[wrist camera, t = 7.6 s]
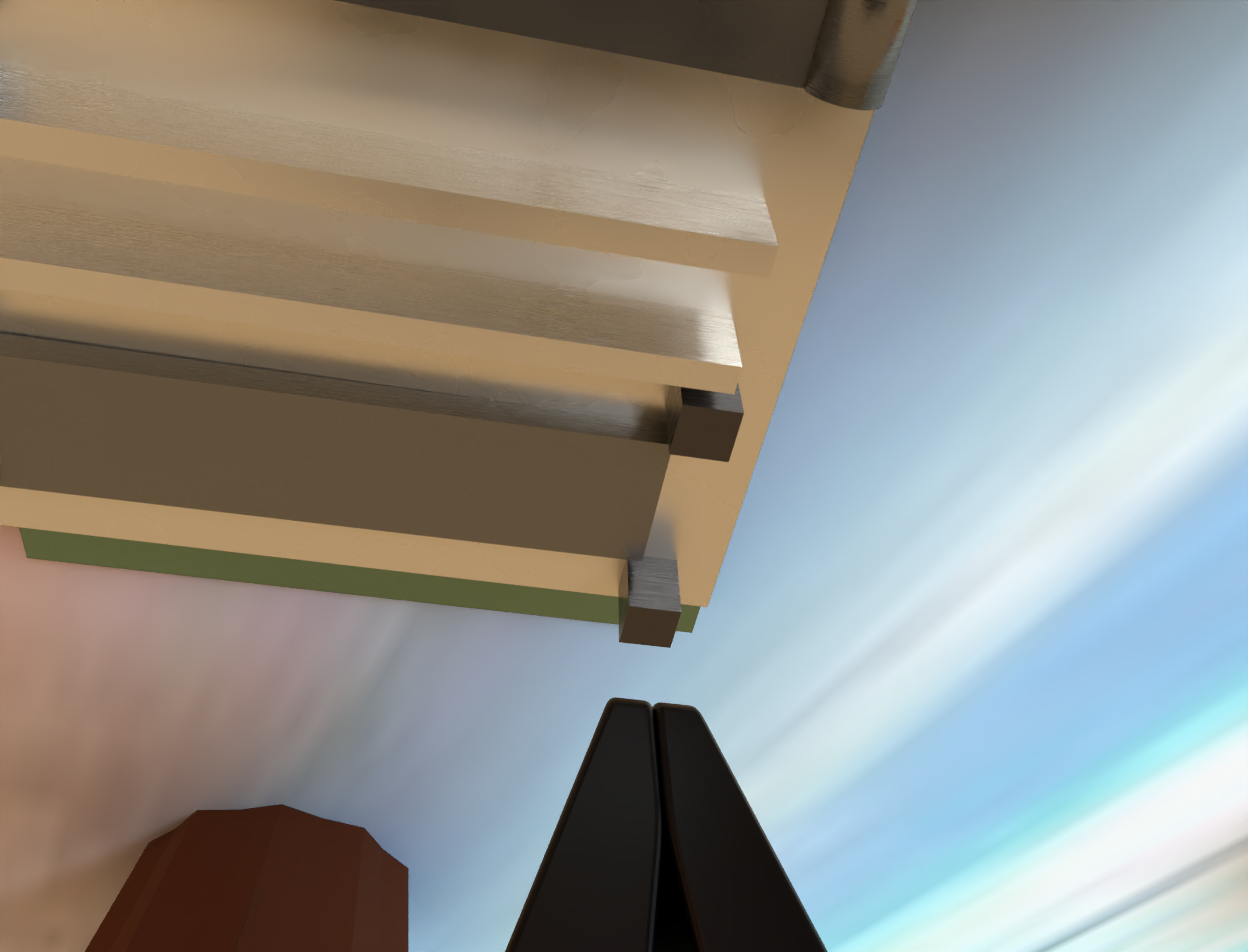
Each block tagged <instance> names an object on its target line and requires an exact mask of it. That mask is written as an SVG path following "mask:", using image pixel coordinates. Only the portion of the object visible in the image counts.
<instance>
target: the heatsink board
mask: <svg viewBox="0 0 1248 952" xmlns="http://www.w3.org/2000/svg"><path fill="white" fill-rule="evenodd" d="M874 111H875V110H855V109H849V108H844V107H840V106H837V105H833V104H830V103H827V102H825V101H822V100H820V99H818V98H816V97H814V96H812V95H810V94H809V93H808V92H806V91H805V90H804V89H803V88H798V87H792V86H787V85H782V84H776V83H771V82H766V81H760V80H755V79H750V78H744V77H739V76H734V75H729V74H723V73H718V72H713V71H707V70H702V69H697V68H691V67H686V66H681V65H675V64H670V63H665V62H659V61H654V60H649V59H644V58H638V57H633V56H628V55H622V54H617V53H612V52H606V51H601V50H596V49H590V48H585V47H580V46H575V45H569V44H564V43H559V42H553V41H548V40H543V39H537V38H532V37H527V36H521V35H516V34H511V33H506V32H500V31H495V30H490V29H484V28H479V27H474V26H468V25H463V24H458V23H452V22H447V21H442V20H436V19H431V18H426V17H421V16H415V15H410V14H405V13H399V12H394V11H389V10H383V9H378V8H373V7H367V6H362V5H357V4H352V3H346V2H341V1H336V0H0V333H1V334H9V335H16V336H23V337H31V338H38V339H45V340H53V341H60V342H67V343H75V344H82V345H89V346H97V347H104V348H111V349H119V350H126V351H133V352H141V353H148V354H155V355H163V356H170V357H177V358H185V359H192V360H199V361H207V362H214V363H221V364H229V365H236V366H243V367H251V368H258V369H266V370H273V371H280V372H288V373H295V374H302V375H310V376H317V377H324V378H332V379H339V380H346V381H354V382H361V383H368V384H376V385H383V386H390V387H398V388H405V389H412V390H420V391H427V392H434V393H442V394H449V395H456V396H464V397H471V398H478V399H486V400H493V401H500V402H508V403H515V404H522V405H530V406H537V407H544V408H552V409H559V410H566V411H573V412H581V413H588V414H595V415H602V416H609V417H617V418H624V419H631V420H638V421H645V422H652V423H660V424H667V435H668V446H669V454H671V455H670V459H669V463H668V467H667V470H666V474H665V478H664V482H663V485H662V489H661V493H660V497H659V500H658V504H657V508H656V511H655V515H654V519H653V523H652V526H651V530H650V534H649V538H648V541H647V545H646V549H645V553H644V556H643V560H642V562H641V561H633V560H624V559H616V558H607V557H599V556H590V555H582V554H573V553H565V552H556V551H547V550H539V549H530V548H522V547H513V546H505V545H496V544H488V543H479V542H471V541H462V540H454V539H445V538H437V537H428V536H420V535H411V534H403V533H394V532H386V531H377V530H369V529H360V528H352V527H343V526H335V525H326V524H318V523H309V522H301V521H292V520H284V519H275V518H267V517H258V516H250V515H241V514H233V513H224V512H216V511H207V510H199V509H190V508H182V507H173V506H165V505H156V504H148V503H139V502H131V501H122V500H114V499H105V498H97V497H88V496H80V495H71V494H63V493H54V492H46V491H37V490H28V489H20V488H11V487H3V486H0V525H5V526H13V527H19V529H20V532H21V536H22V540H23V544H24V548H25V552H26V555H27V558H33V559H42V560H51V561H60V562H68V563H77V564H86V565H95V566H104V567H113V568H122V569H131V570H139V571H148V572H157V573H166V574H175V575H184V576H193V577H202V578H211V579H219V580H228V581H237V582H246V583H255V584H264V585H273V586H282V587H290V588H299V589H308V590H317V591H326V592H335V593H344V594H353V595H362V596H370V597H379V598H388V599H397V600H406V601H415V602H424V603H433V604H441V605H450V606H459V607H468V608H477V609H486V610H495V611H504V612H512V613H521V614H530V615H539V616H548V617H557V618H566V619H575V620H584V621H592V622H601V623H610V624H619V642H623V643H632V644H641V645H650V646H659V647H669V648H670V647H671V644H672V641H673V637H674V634H675V631H681V632H690V633H692V631H693V628H694V625H695V621H696V618H697V615H698V612H699V609H700V606H702V607H708V604H709V601H710V598H711V595H712V592H713V589H714V586H715V583H716V580H717V577H718V574H719V571H720V568H721V565H722V562H723V559H724V556H725V553H726V550H727V547H728V544H729V541H730V538H731V535H732V532H733V529H734V526H735V523H736V520H737V517H738V514H739V511H740V509H741V506H742V503H743V500H744V497H745V494H746V491H747V488H748V485H749V482H750V479H751V476H752V473H753V470H754V467H755V464H756V461H757V458H758V455H759V452H760V449H761V446H762V443H763V440H764V437H765V434H766V431H767V428H768V425H769V422H770V419H771V416H772V414H773V411H774V408H775V405H776V402H777V399H778V396H779V393H780V390H781V387H782V384H783V381H784V378H785V375H786V372H787V369H788V366H789V363H790V360H791V357H792V354H793V351H794V348H795V345H796V342H797V339H798V336H799V333H800V330H801V327H802V324H803V321H804V318H805V316H806V313H807V310H808V307H809V304H810V301H811V298H812V295H813V292H814V289H815V286H816V283H817V280H818V277H819V274H820V271H821V268H822V265H823V262H824V259H825V256H826V253H827V250H828V247H829V244H830V241H831V238H832V235H833V232H834V229H835V226H836V223H837V221H838V218H839V215H840V212H841V209H842V206H843V203H844V200H845V197H846V194H847V191H848V188H849V185H850V182H851V179H852V176H853V173H854V170H855V167H856V164H857V161H858V158H859V155H860V152H861V149H862V146H863V143H864V140H865V137H866V134H867V131H868V128H869V125H870V123H871V120H872V117H873V114H874Z"/></svg>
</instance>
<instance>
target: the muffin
mask: <svg viewBox="0 0 1248 952" xmlns="http://www.w3.org/2000/svg"><path fill="white" fill-rule="evenodd" d="M85 952H408V868H407V867H406V866H404V865H403V864H402V863H400V862H399V861H398V860H396V859H395V858H394V857H392V856H391V855H390V854H388V853H387V852H386V851H385V850H383V849H382V847H381V846H380V845H379V844H378V843H377V842H376V841H375V840H374V838H373V837H372V836H371V835H370V834H369V833H368V832H367V830H366V829H365V828H362V827H358V826H354V825H349V824H345V823H341V822H336V821H332V820H327V819H323V818H320V817H317V816H314V815H311V814H308V813H305V812H303V811H300V810H297V809H294V808H291V807H288V806H285V805H282V804H281V805H273V806H266V807H258V808H250V809H243V810H197V811H196V812H195V813H194V814H192V815H191V816H190V817H189V818H188V819H187V820H185V821H184V822H183V823H182V824H181V825H180V826H178V827H177V828H176V829H174V830H172V831H170V832H169V833H167V834H165V835H163V836H161V837H159V838H157V839H155V840H153V841H151V842H149V843H148V845H147V847H146V849H145V850H144V852H143V854H142V855H141V857H140V859H139V860H138V862H137V864H136V866H135V867H134V869H133V871H132V872H131V874H130V876H129V877H128V879H127V881H126V883H125V884H124V886H123V888H122V889H121V891H120V893H119V894H118V896H117V898H116V900H115V901H114V903H113V905H112V906H111V908H110V910H109V912H108V913H107V915H106V917H105V918H104V920H103V922H102V923H101V925H100V927H99V929H98V930H97V932H96V934H95V935H94V937H93V939H92V940H91V942H90V944H89V946H88V947H87V949H86V951H85Z"/></svg>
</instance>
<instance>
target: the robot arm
mask: <svg viewBox="0 0 1248 952" xmlns="http://www.w3.org/2000/svg"><path fill="white" fill-rule="evenodd" d="M505 952H827V950H826V948H825V946H824V944H823V942H822V940H821V938H820V937H819V935H818V933H817V931H816V929H815V927H814V925H813V923H812V921H811V920H810V918H809V916H808V914H807V912H806V910H805V908H804V906H803V904H802V903H801V901H800V899H799V897H798V895H797V893H796V891H795V889H794V888H793V886H792V884H791V882H790V880H789V878H788V876H787V874H786V872H785V871H784V869H783V867H782V865H781V863H780V861H779V859H778V857H777V856H776V854H775V852H774V850H773V848H772V846H771V844H770V842H769V840H768V839H767V837H766V835H765V833H764V831H763V829H762V827H761V825H760V824H759V822H758V820H757V818H756V816H755V814H754V812H753V810H752V808H751V807H750V805H749V803H748V801H747V799H746V797H745V795H744V793H743V792H742V790H741V788H740V786H739V784H738V782H737V780H736V778H735V776H734V775H733V773H732V771H731V769H730V767H729V765H728V763H727V761H726V760H725V758H724V756H723V754H722V752H721V750H720V748H719V746H718V744H717V743H716V741H715V739H714V737H713V735H712V733H711V731H710V729H709V728H708V726H707V724H706V722H705V720H704V718H703V716H702V715H701V713H700V712H699V711H698V710H697V709H696V708H695V707H693V706H689V705H680V704H670V703H657V704H655V705H654V706H653V707H652V706H651V704H650V703H648V702H646V701H643V700H633V699H624V698H611V699H610V700H609V701H608V702H607V704H606V706H605V708H604V711H603V713H602V716H601V718H600V721H599V723H598V725H597V728H596V730H595V733H594V735H593V738H592V740H591V743H590V745H589V748H588V750H587V752H586V755H585V757H584V760H583V762H582V765H581V767H580V770H579V772H578V774H577V777H576V779H575V782H574V784H573V787H572V789H571V792H570V794H569V797H568V799H567V801H566V804H565V806H564V809H563V811H562V814H561V816H560V819H559V821H558V823H557V826H556V828H555V831H554V833H553V836H552V838H551V841H550V843H549V846H548V848H547V850H546V853H545V855H544V858H543V860H542V863H541V865H540V868H539V870H538V872H537V875H536V877H535V880H534V882H533V885H532V887H531V890H530V892H529V895H528V897H527V899H526V902H525V904H524V907H523V909H522V912H521V914H520V917H519V919H518V921H517V924H516V926H515V929H514V931H513V934H512V936H511V939H510V941H509V944H508V946H507V948H506V951H505Z"/></svg>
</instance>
